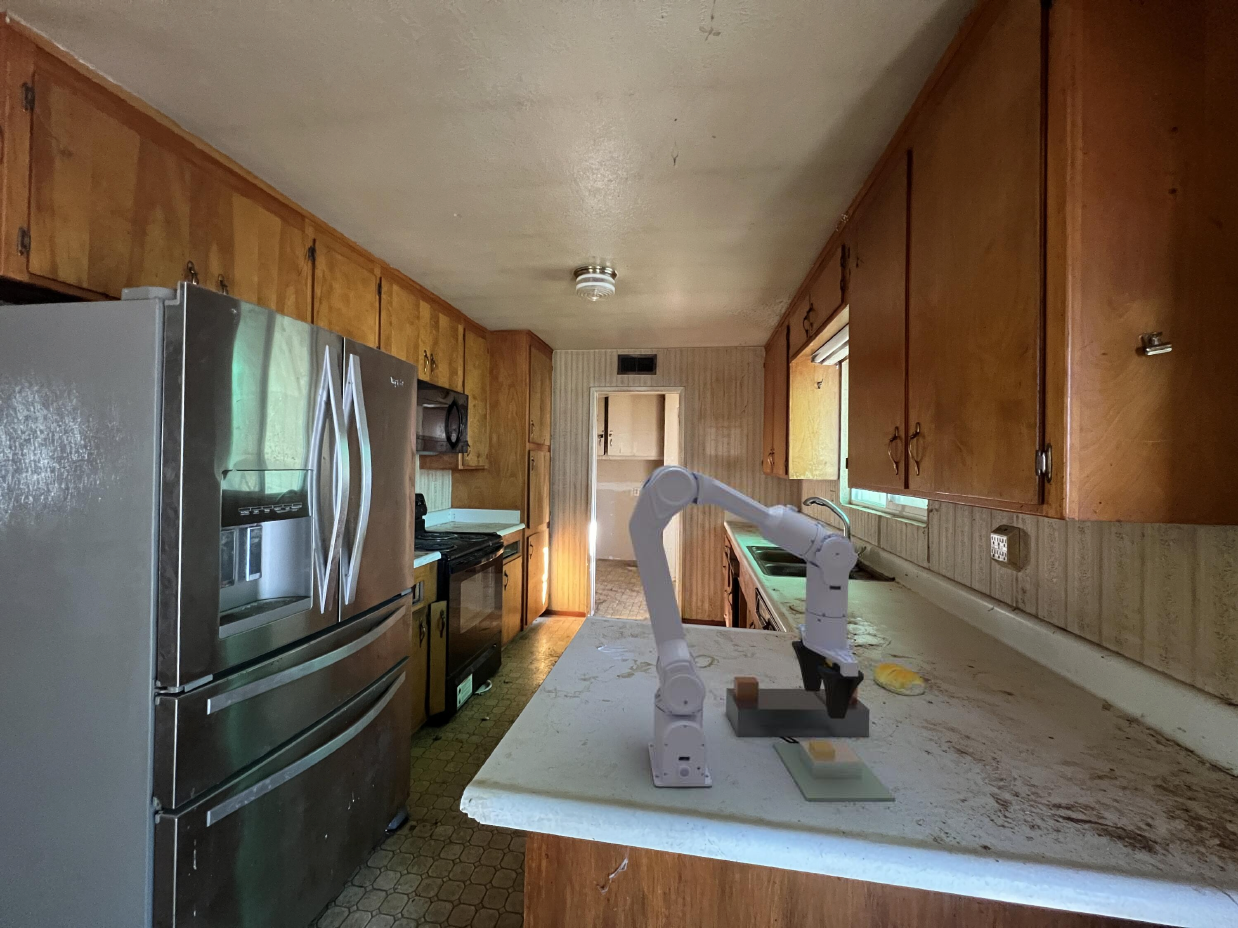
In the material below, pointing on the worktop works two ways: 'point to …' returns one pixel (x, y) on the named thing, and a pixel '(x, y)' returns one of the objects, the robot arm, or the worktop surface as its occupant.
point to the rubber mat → (831, 781)
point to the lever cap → (830, 760)
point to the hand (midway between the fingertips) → (823, 703)
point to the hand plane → (789, 712)
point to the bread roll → (898, 679)
